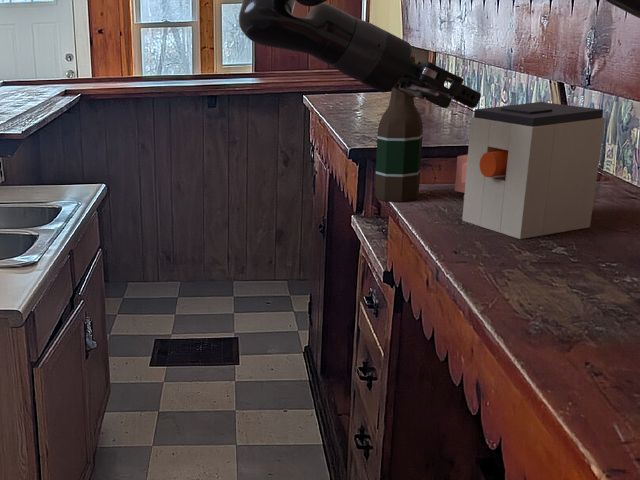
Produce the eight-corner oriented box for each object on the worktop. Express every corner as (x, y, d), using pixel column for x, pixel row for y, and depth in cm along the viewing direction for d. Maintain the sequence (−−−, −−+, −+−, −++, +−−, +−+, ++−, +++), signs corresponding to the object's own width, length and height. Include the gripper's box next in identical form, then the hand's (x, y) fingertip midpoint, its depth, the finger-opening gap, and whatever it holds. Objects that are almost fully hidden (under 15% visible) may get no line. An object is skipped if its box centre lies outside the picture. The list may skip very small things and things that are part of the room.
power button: (500, 172, 131) (502, 147, 129) (516, 175, 128) (519, 151, 126) (478, 175, 129) (480, 150, 128) (494, 179, 126) (497, 154, 125)
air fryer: (528, 210, 141) (540, 99, 134) (589, 227, 130) (607, 107, 123) (462, 220, 137) (471, 107, 130) (519, 239, 126) (533, 116, 119)
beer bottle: (403, 204, 149) (411, 58, 140) (365, 199, 154) (371, 57, 145) (427, 196, 154) (437, 54, 144) (390, 191, 159) (397, 53, 150)
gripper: (402, 24, 115) (500, 75, 119) (362, 33, 129) (451, 79, 133) (377, 78, 117) (475, 127, 121) (340, 81, 130) (429, 125, 134)
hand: (463, 102), depth 127 cm, fingers open, 8 cm apart
